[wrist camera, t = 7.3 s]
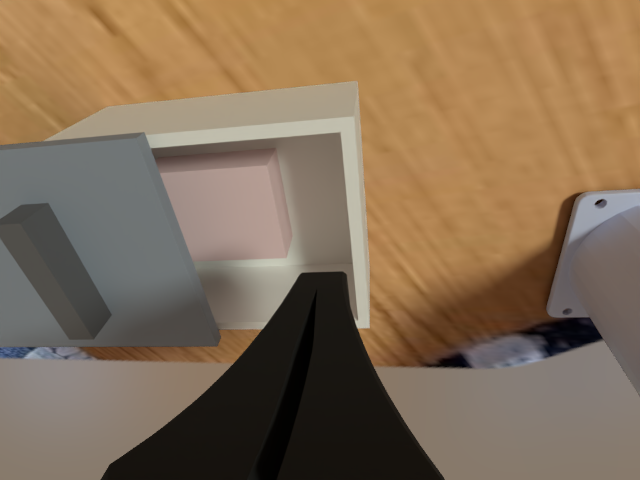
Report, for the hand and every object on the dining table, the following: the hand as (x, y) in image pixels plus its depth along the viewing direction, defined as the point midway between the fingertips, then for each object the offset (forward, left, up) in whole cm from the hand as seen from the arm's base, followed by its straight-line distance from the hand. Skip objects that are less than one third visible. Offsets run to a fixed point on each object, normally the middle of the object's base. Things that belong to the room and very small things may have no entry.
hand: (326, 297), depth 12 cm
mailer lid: (+13, +1, -4) cm, 13 cm away
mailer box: (+5, +1, -9) cm, 11 cm away
